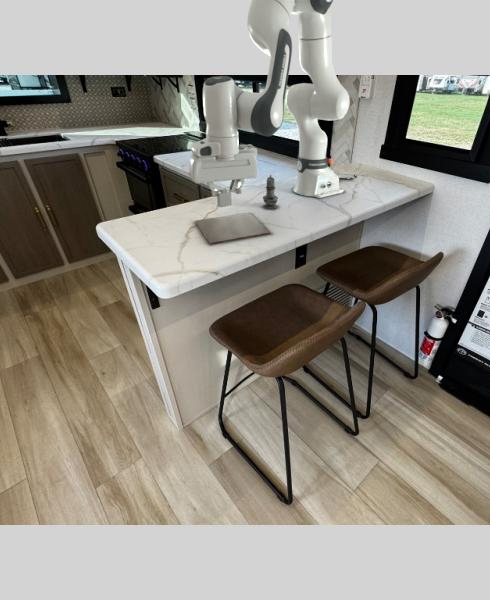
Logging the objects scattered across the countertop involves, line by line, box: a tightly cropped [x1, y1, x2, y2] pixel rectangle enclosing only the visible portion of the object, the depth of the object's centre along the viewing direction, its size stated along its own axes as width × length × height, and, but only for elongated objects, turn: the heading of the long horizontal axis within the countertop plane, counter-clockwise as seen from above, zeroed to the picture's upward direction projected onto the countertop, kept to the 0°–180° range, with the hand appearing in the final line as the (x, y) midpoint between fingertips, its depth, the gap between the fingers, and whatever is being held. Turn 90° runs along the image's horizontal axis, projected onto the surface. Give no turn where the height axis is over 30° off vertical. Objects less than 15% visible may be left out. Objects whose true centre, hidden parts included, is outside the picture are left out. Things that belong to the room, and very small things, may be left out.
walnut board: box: [194, 212, 271, 246], centre depth 105 cm, size 20×18×1 cm
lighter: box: [216, 179, 239, 208], centre depth 98 cm, size 7×2×8 cm, turn 127°
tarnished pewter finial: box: [262, 174, 279, 210], centre depth 118 cm, size 6×6×12 cm
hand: (226, 194), depth 98 cm, fingers closed on lighter, 6 cm apart
